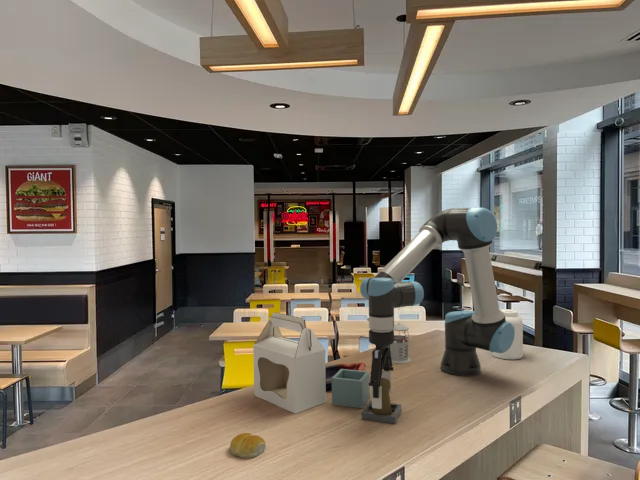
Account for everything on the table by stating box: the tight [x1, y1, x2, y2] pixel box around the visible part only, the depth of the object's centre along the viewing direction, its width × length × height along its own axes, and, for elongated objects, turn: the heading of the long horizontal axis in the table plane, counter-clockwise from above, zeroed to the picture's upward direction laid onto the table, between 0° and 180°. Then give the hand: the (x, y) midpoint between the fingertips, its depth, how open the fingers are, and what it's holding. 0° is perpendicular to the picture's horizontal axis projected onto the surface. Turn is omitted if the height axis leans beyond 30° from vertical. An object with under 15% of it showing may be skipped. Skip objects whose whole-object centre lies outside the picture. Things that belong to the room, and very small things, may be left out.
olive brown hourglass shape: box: [371, 378, 393, 415], centre depth 137 cm, size 6×6×11 cm
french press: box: [390, 323, 412, 364], centre depth 194 cm, size 10×12×25 cm
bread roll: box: [229, 432, 267, 459], centre depth 117 cm, size 8×9×4 cm
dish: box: [325, 362, 367, 391], centre depth 167 cm, size 16×31×5 cm, turn 124°
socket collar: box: [361, 399, 403, 425], centre depth 137 cm, size 10×10×2 cm
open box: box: [331, 369, 371, 409], centre depth 149 cm, size 10×10×8 cm
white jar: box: [491, 308, 524, 360], centre depth 197 cm, size 12×12×20 cm
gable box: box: [252, 312, 327, 415], centre depth 151 cm, size 22×13×28 cm, turn 44°
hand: (381, 399), depth 137 cm, fingers open, 13 cm apart
